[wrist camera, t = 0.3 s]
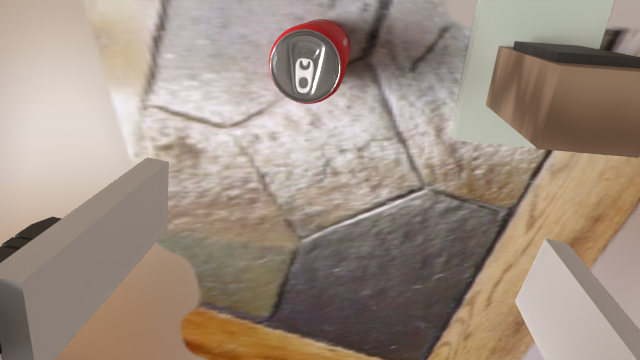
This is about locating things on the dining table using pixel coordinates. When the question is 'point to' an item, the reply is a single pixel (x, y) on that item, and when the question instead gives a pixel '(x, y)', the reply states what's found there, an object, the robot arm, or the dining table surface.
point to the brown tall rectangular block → (569, 97)
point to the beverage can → (310, 61)
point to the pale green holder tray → (503, 30)
